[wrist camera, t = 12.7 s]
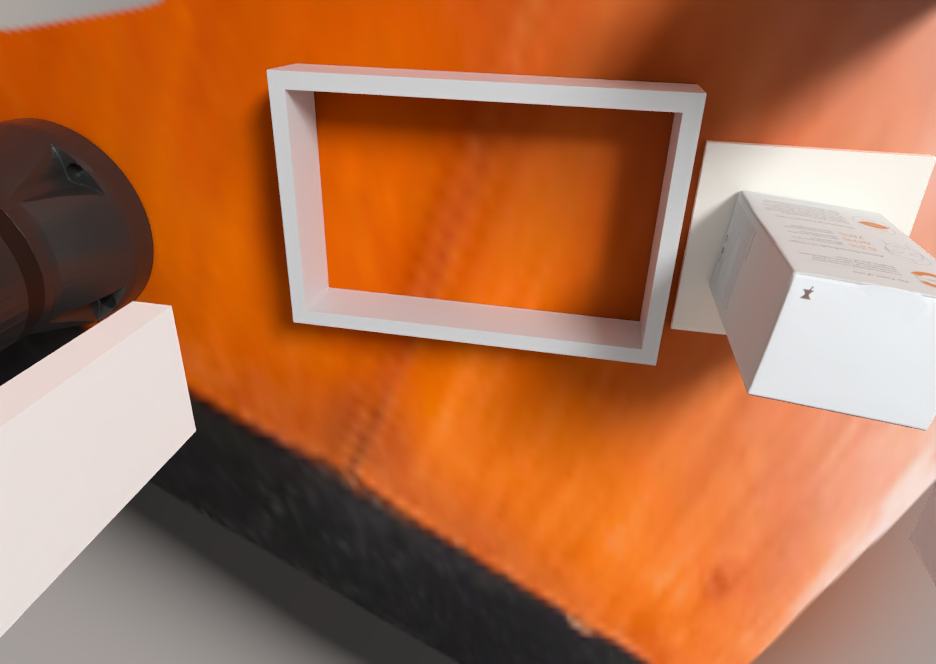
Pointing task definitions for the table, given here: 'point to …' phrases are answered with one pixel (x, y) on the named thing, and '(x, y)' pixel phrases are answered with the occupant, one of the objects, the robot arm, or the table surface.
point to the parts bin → (464, 319)
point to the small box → (829, 309)
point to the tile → (795, 176)
